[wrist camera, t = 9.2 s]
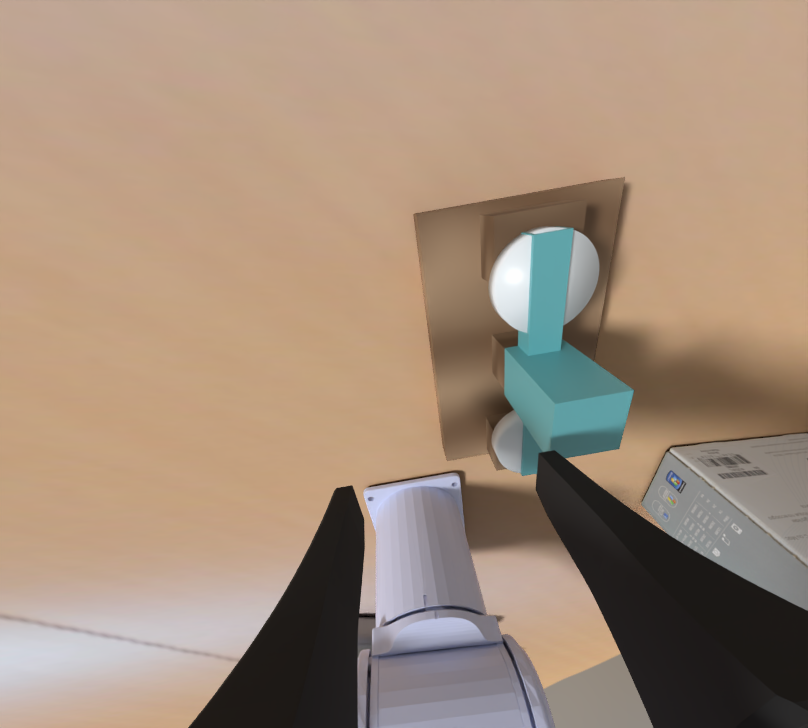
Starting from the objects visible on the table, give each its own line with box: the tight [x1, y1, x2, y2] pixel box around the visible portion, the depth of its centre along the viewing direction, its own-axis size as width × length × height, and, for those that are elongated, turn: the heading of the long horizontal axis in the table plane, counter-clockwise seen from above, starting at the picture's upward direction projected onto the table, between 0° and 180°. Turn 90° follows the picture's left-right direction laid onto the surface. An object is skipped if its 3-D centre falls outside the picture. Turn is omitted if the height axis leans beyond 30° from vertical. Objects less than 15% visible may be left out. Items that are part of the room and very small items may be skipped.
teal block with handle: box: [488, 226, 634, 476], centre depth 14 cm, size 14×5×5 cm, turn 9°
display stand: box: [414, 177, 625, 470], centre depth 18 cm, size 16×10×4 cm, turn 9°
